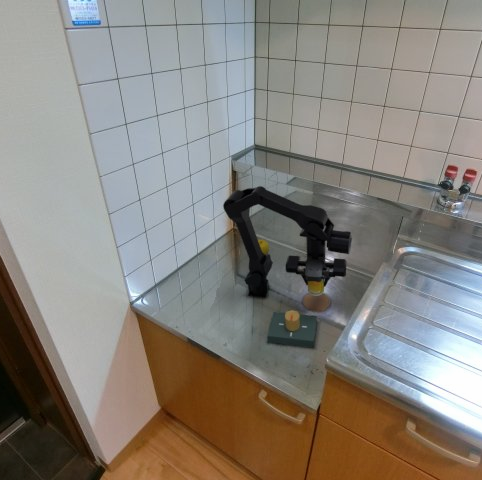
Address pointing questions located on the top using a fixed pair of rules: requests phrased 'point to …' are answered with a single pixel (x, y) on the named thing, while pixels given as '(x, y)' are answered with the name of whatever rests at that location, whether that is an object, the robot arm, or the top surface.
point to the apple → (264, 246)
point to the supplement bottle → (316, 287)
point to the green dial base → (298, 337)
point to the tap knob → (292, 320)
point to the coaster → (316, 302)
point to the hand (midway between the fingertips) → (315, 285)
